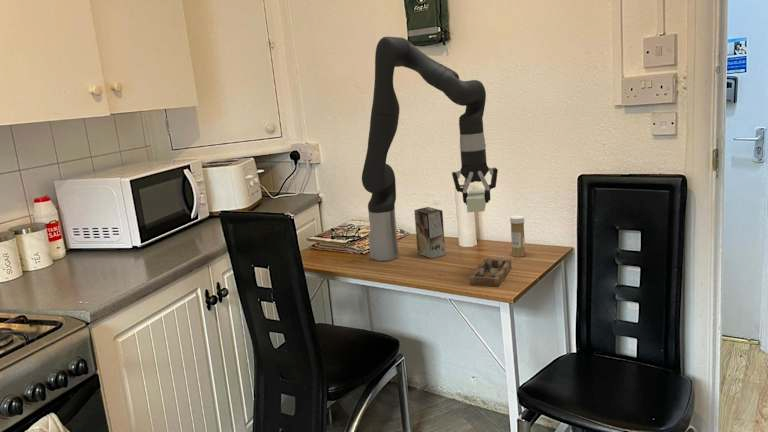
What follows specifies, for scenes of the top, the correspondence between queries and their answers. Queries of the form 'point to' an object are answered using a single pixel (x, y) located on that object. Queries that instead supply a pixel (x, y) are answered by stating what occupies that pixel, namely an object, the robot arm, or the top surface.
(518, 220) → the sprinkles bottle
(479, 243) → the top surface
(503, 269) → the peg frame
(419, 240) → the coffee box
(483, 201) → the pale green block
